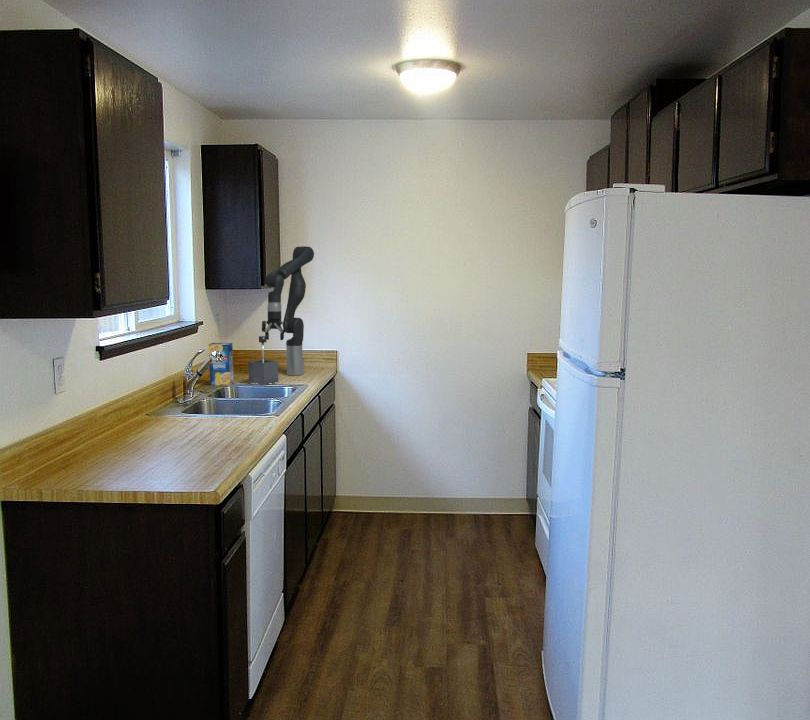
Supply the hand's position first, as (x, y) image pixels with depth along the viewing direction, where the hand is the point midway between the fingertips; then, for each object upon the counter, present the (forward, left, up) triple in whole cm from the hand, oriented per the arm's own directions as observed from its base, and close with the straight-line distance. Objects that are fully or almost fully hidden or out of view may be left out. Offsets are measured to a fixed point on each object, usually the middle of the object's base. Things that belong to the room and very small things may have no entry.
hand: (274, 339), depth 410 cm
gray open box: (+15, +5, -22) cm, 27 cm away
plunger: (+15, +5, -12) cm, 20 cm away
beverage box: (+29, -12, -22) cm, 38 cm away
